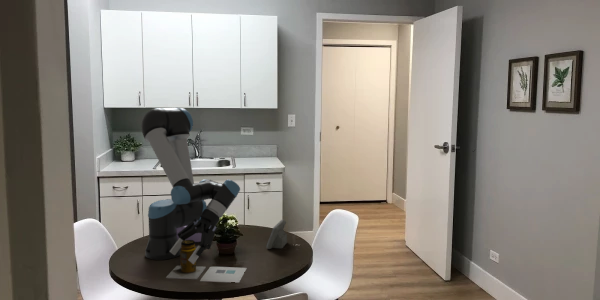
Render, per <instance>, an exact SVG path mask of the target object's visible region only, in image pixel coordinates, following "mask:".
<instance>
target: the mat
mask: <svg viewBox="0 0 600 300" xmlns="http://www.w3.org/2000/svg"><path fill="white" fill-rule="evenodd" d="M180 268H181V265H176V266H175V267H174V268H173V269H172V270H171V271H170V272H169V273H168V274H167V276H166V277H165V278H166V279H179V280H180V279H182V280H184V279H185V280H198V279H199V278H200V276H201V275H202V274H203V272H204V271H205V270H206V268H207V267H206V266H197V265H196V269H198V270H200V271H199V272H195V273H192V274H188V275H184V276H180V275H178V274H176V273H175V272H173V270H177V269H180Z"/></svg>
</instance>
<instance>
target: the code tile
mask: <svg viewBox="0 0 600 300" xmlns="http://www.w3.org/2000/svg"><path fill="white" fill-rule="evenodd" d="M247 269H248V268H247V267H236V266H235V267H229V266H209V268H208V269H207V271H206V272H205V273H204V274H203V276H202V277H201V278H200V280H199V282H211V283H213V282H214V283H231V282H235V283H237V284H240V282H241V279H242V278H243V276H244V275H245V273H244V272H246V271H247ZM235 283H234V284H235Z"/></svg>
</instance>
